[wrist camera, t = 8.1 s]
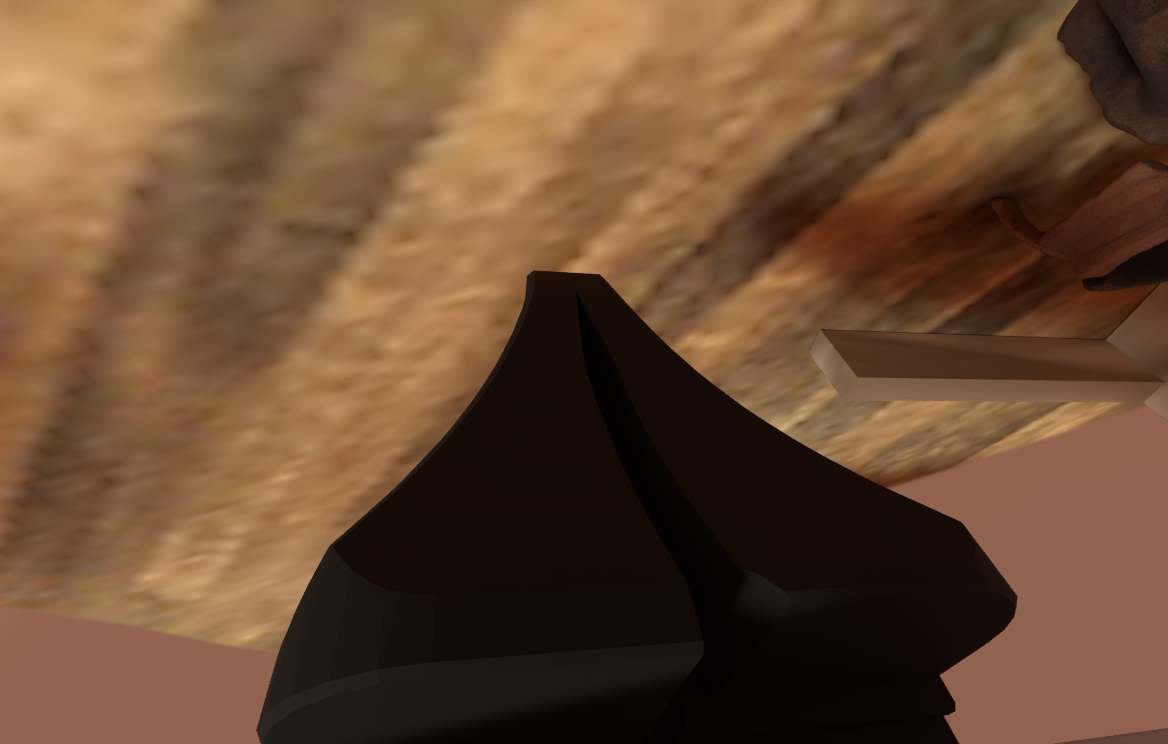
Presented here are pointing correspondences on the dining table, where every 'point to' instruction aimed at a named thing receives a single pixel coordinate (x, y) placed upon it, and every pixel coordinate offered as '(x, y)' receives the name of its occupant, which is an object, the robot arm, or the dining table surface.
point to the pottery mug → (1132, 104)
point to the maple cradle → (1005, 364)
